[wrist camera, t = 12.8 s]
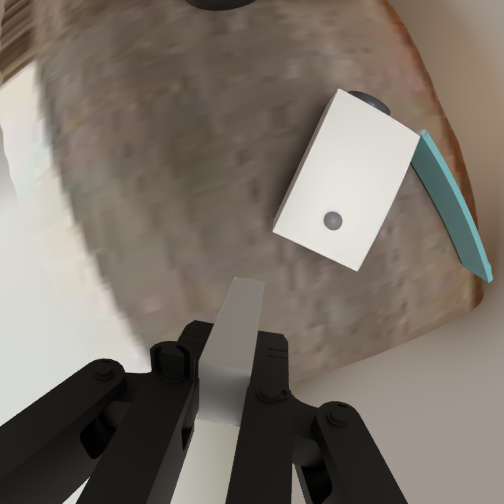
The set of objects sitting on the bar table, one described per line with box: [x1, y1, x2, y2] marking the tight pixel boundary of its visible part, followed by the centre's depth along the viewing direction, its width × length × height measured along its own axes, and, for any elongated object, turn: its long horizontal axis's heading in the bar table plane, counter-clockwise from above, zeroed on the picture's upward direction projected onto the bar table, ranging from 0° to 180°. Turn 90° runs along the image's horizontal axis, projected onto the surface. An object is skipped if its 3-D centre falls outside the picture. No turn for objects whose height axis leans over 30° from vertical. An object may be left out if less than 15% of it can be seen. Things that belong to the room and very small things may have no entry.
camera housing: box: [273, 88, 420, 271], centre depth 33 cm, size 20×11×10 cm, turn 156°
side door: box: [410, 129, 493, 283], centre depth 32 cm, size 24×2×8 cm, turn 39°
